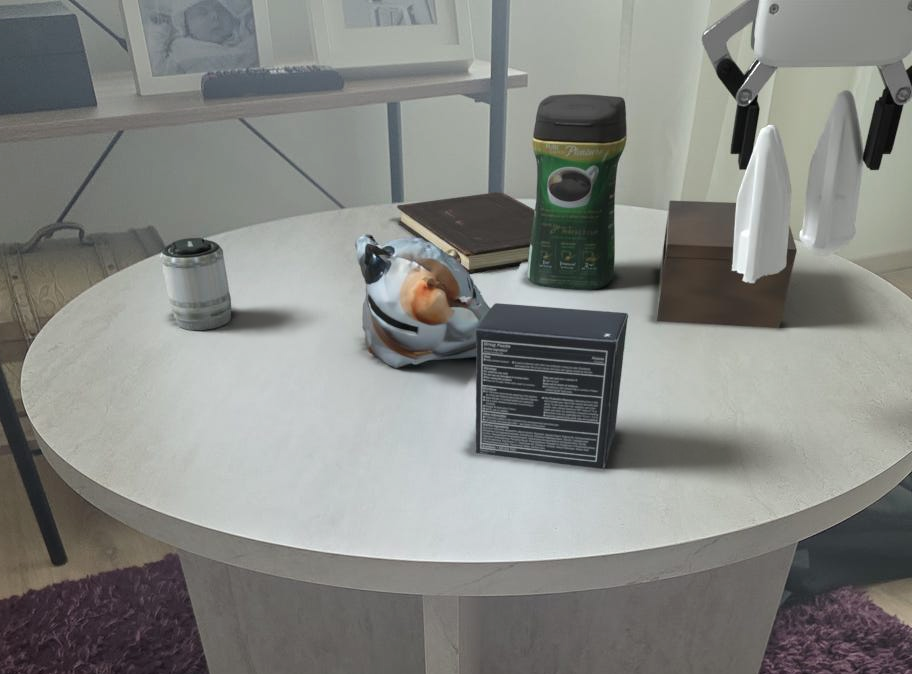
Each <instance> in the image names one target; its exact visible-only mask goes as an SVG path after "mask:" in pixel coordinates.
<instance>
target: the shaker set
mask: <svg viewBox="0 0 912 674" xmlns="http://www.w3.org/2000/svg"><path fill="white" fill-rule="evenodd" d="M859 120H860V119H859V115H858V110H857V105H856V101H855V97H854V94H853V93H852V91H850V90H848V89H844V90H842V91H841V92H839V93H837V94H836V97H835V98H834V101H833V103H832V106H831V108H830V111H829V114H828V116H827V118H826V121H825V124H824V126H823V128H822V131H821V133H820V136H819V139H818V141H817V144H816V146H815V148H814V150H813V151H814V152H813V154H812V156H811V159H810V162H809V168H808V173H807V182H806V189H805V190H806V192H805V200H804V209H803V218H802V219H803V220H802V228H801V230H800V231H799V239H800V241H801V243H802V244H803V245H804V247H805V248H806V249H807V250H808V251H809V252H810V253H812V254H814V255H815V256H817V257H830V256H832V255H833V254H836V253H837V252H839V251H842V250H844V249H845V248H846V247H847V246H848V245H849V244H850V243H851V241H853V240H854V238H855V237H856V234H857V231H856V229H857V228H856V220H857V212H858V207H859V206H858V205H859V198H860V193H861V184H862V175H863V167H864V161H863V153H864V144H863V137H862V131H861V126H860V121H859ZM786 158H787V157H786V154H785V150H784V145H783V141H782V138H781V135H780V131H779V129H778V127H777V126H775V125H774V124H768V125H766V126H765V127H762V128H761V129H760V130H759V133H758V135H757V138H756V140H755V143H754V148H753V153H752V155H751V158H750V161H749V164H748V166H747V169H746V170H745V173H744V175H743V178H742V181H741V183H740V184H741V185H740V186H739V190H738V193H737V197H736V202H735V203H736V214H735V230H734V247H733V265H732V270H733V271H737V272H738V273H740V274H741V273H742V274H744V277H743V280H742V281H745V282H746V283H747V282H749V283H755V281H756V280H757V279H758V278H760V277H761V276H763V275H766V276H767V275H768V274H769V275H772V274H776V273H779V272H780V271H781V270H783V269H784V268H785V266H786V256H787V246H788V235H789V225H790V221H791V210H792V197H793V195H792V194H793V193H792V192H793V191H792V190H793V189H792V181H791V176H790V172H789V171H790V170H789V167H788V163H787V159H786Z"/></svg>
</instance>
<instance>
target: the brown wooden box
mask: <svg viewBox="0 0 912 674" xmlns="http://www.w3.org/2000/svg"><path fill="white" fill-rule="evenodd" d="M668 202H669V203H668V208H667V209H668V211H667V218H666V224H665V230H664V231H665V232H664V239H663V247H662V254H661V261H660V269H659V279H658V280H659V281H658V294H657V295H658V296H657V307H656V308H657V309H656V310H657V311H656V322H661V323H662V322H663V323H665V322H666V323H678V324H679V323H682V324H696V325H697V324H698V325H713V326H715V325H716V326H734V327H752V328H768V329H779V328H780V327H781V322H782V317H783V313H784V308H785V305H786V301H787V296H788V291H789V287H790V282H791V277H792V274H793V269H794V265H795V260H796V256H797V251H798V249H797V245H796V242H795V239H794V235H793V233H792V229H791V226H790V224H789V235H788V246H787V256H786V266H785V268H784V269H783V270H781V271H780V272H779V273H776V274H772V275H769V274H768V275H767V276H766V275H763V276H761V277H760V278H758V279H757V280H756V281H755V283H749V282H747V283H746V282H745V281H742V280H743V277H744V274H742V273H741V274H740V273H738V272H737V271H733V270H732V265H733V247H734V230H735V214H736V203H737V202H729V201H727V202H726V201H724V202H723V201H700V200H699V201H698V200H697V201H695V200H693V201H692V200H669V201H668Z"/></svg>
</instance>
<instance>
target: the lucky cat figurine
mask: <svg viewBox="0 0 912 674" xmlns="http://www.w3.org/2000/svg"><path fill="white" fill-rule="evenodd" d="M354 247H355V249H356V260H357V263H358V266H359V267H360V271H361V275H362V277H363V279H364V283H365V298H364V301H363V304H362V318H361V319H362V330H363V331H364V342H365V346H366V348H367V351H368V353H369V354H372V355H373V356H374V357H376V358H377V359H379V360H380V361H382V362H383V363H385V364H386V365H388V366H390V367H393V368H394V369H398V368H399V369H400V368H402V367H405V366H408V365H411V364H413V365H419V364H422V363H424V362H427V361H437V360H438V361H440V360H441V361H442V360H453V359H454V360H455V359H464V358H466V359H468V358H475V357H476V358H477V354H476V346H477V343H476V328H477V327H478V325H479V324H480V322H481V321H482V320H483V318H484V317H485V315H486V314H487V313H488V311H489V310H490V309H491V307H490V306H489V305H488V303H487V302H486V301H485V298H484V297H483V295H482V293H481V291H480V289H479V288H478V286H477V285H476V284H475V283H474V280H473V278H472V276H471V274H470V273H468V272H467V271H466V270H465V268H464V267H463V266H462V265H461V258H460V255H459V254H458V252H457V251H456V250H454V249H450V250H448V251H446V252H444V251H443V250H442V249H439V248H438V247H437V246H435V245H434V244H432V243H430V242H426V241H424V240H423V239H422V238H417V237H398V238H397V237H396V238H394V239H392V240H389V241H387V242H386V243H385V244H383V245H382V244H380V243H378V242H377V241H376V239H375V238H374V236H373V235H372V234H368V233H366V234H363V235H361V236H360V237H359V238H357V239H356V240H355V241H354Z"/></svg>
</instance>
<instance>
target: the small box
mask: <svg viewBox="0 0 912 674" xmlns="http://www.w3.org/2000/svg"><path fill="white" fill-rule="evenodd" d="M490 308H491V309H490V310H489V311H488V313H487V314H486V315H485V317H484V318H483V320H482V321H481V322H480V324H479V325H478V327H477V328H476V343H477V346H476V354H477V357H476V361H475V363H476V364H475V365H476V366H475V367H476V368H475V369H476V372H475V445H474V453H475V454H481V455H488V456H496V457H503V458H513V459H519V460H528V461H534V462H535V461H536V462H543V463H550V464H551V463H553V464H559V465H567V466H576V467H585V468H593V469H601V470H603V469H606V468H608V459H609V457H610V454H611V453H610V452H611V450H612V446H613V443H614V440H615V436H616V428H617V427H616V426H617V418H618V408H619V399H620V391H621V390H620V388H621V381H622V373H623V363H624V362H623V361H624V353H625V347H626V346H625V344H626V335H627V326H628V319H629V314H628V312H619V311H616V312H615V311H605V310H604V311H603V310H593V309H592V310H590V309H580V308H579V309H578V308H577V309H576V308H565V307H564V308H563V307H553V306H552V307H551V306H540V305H539V306H538V305H526V304H525V305H524V304H511V303H499V302H495V303H494V304H493V305H492V306H491V307H490Z"/></svg>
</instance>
